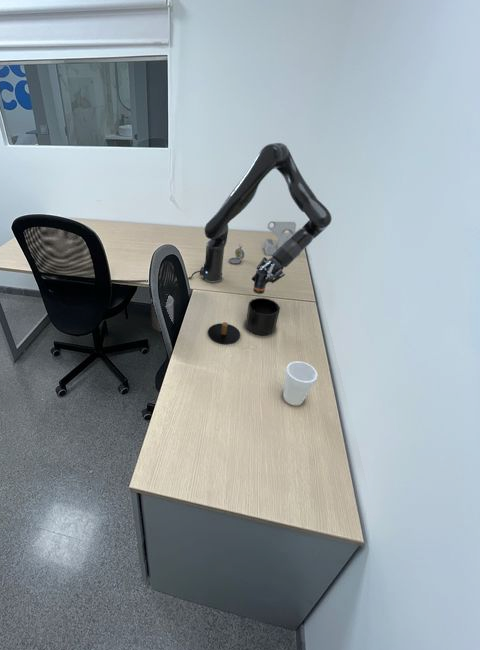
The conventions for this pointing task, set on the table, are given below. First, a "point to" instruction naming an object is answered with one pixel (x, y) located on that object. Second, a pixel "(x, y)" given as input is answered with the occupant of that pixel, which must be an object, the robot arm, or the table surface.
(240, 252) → the pocket watch
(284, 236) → the phone holder
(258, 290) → the socket
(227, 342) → the lid
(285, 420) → the table surface
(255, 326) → the pot
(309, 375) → the foam cup
